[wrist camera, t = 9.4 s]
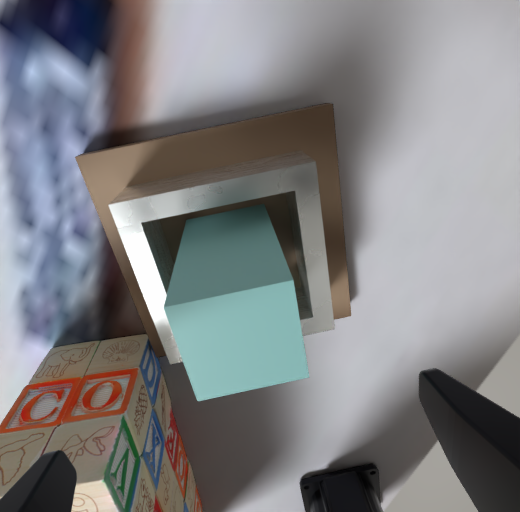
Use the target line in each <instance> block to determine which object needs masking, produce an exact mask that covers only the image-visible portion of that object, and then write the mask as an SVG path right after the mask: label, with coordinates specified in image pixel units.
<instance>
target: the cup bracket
mask: <svg viewBox="0 0 520 512" xmlns="http://www.w3.org/2000/svg"><path fill="white" fill-rule="evenodd" d="M285 192H286V195H287V201H288V208H289V214H290V221H291V227H292V233H293V240H294V246H295V253H296V259H297V266H298V272H299V278H300V285H301V287H298V288H295V293H296V299H297V305H298V311H299V317H300V323H301V330H302V336H305V335H310V334H314V333H319V332H324V331H328V330H333V329H335V326H334V317H333V309H332V300H331V291H330V282H329V273H328V265H327V256H326V247H325V238H324V229H323V221H322V212H321V203H320V194H319V185H318V177H317V168H316V161H314V160H313V159H312V158H310V157H309V156H308V155H306V154H305V153H304V152H302V151H301V150H299V151H294V152H289V153H285V154H280V155H275V156H270V157H265V158H261V159H256V160H251V161H246V162H241V163H237V164H232V165H227V166H222V167H217V168H213V169H208V170H203V171H198V172H193V173H189V174H184V175H179V176H174V177H169V178H165V179H160V180H155V181H150V182H145V183H141V184H136V185H131V186H126V187H125V188H124V189H123V190H122V191H121V192H120V193H119V194H118V195H117V196H116V197H115V198H114V199H113V200H112V201H111V202H110V203H109V205H108V206H109V208H110V211H111V213H112V216H113V219H114V221H115V224H116V226H117V229H118V231H119V234H120V237H121V239H122V242H123V244H124V247H125V249H126V252H127V255H128V257H129V260H130V262H131V265H132V268H133V270H134V273H135V275H136V278H137V280H138V283H139V286H140V288H141V291H142V293H143V296H144V298H145V301H146V304H147V306H148V309H149V311H150V314H151V316H152V319H153V322H154V324H155V327H156V329H157V332H158V335H159V337H160V340H161V342H162V345H163V347H164V350H165V353H166V355H167V358H168V360H169V363H170V364H175V363H179V362H183V360H182V357H181V355H180V352H179V349H178V346H177V344H176V341H175V338H174V335H173V333H172V330H171V327H170V324H169V322H168V319H167V316H166V313H165V311H164V308H163V307H164V303H165V300H166V296H167V292H168V288H169V284H170V280H171V277H172V273H173V269H174V263H173V260H172V257H171V254H170V251H169V248H168V245H167V242H166V239H165V236H164V233H163V230H162V227H161V224H160V221H159V219H161V218H166V217H171V216H176V215H180V214H185V213H190V212H195V211H200V210H204V209H209V208H214V207H219V206H223V205H228V204H233V203H238V202H242V201H247V200H252V199H257V198H262V197H266V196H271V195H276V194H281V193H285Z"/></svg>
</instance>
